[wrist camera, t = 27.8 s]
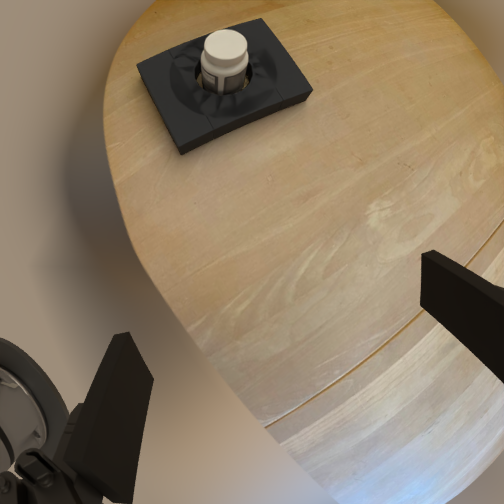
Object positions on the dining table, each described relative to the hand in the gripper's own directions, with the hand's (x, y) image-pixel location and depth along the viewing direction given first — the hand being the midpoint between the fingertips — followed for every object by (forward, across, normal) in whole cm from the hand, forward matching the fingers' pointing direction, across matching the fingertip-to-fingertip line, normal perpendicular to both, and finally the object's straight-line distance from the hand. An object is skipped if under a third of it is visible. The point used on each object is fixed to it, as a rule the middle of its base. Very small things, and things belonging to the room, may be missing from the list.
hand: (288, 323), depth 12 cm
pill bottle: (+26, +1, +15) cm, 30 cm away
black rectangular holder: (+26, +1, +15) cm, 30 cm away
